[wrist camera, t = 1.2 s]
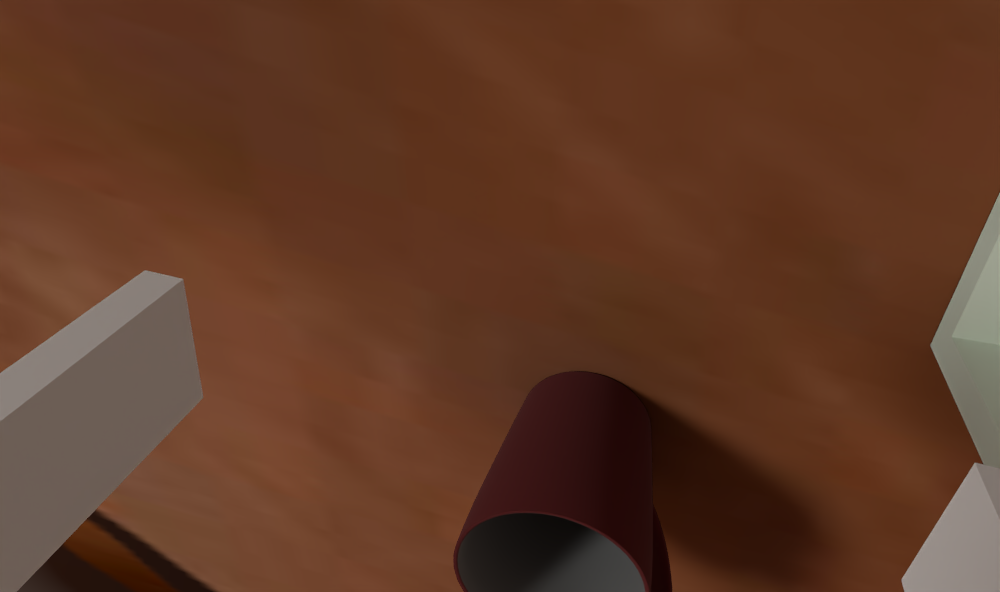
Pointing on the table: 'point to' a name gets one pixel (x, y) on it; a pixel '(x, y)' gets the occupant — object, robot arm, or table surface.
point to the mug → (568, 497)
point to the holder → (976, 342)
